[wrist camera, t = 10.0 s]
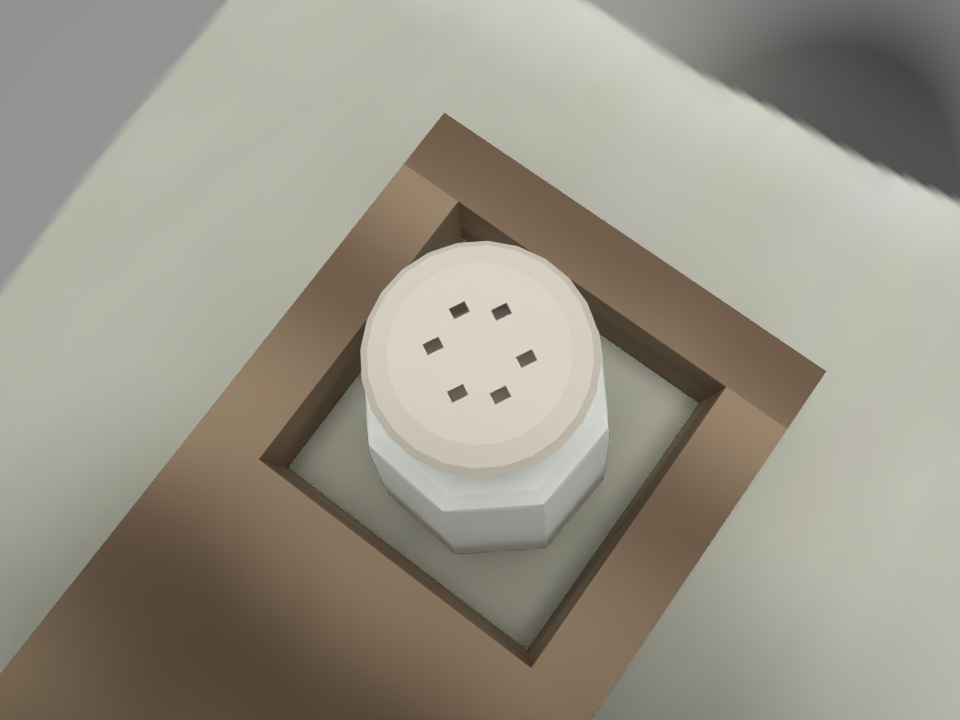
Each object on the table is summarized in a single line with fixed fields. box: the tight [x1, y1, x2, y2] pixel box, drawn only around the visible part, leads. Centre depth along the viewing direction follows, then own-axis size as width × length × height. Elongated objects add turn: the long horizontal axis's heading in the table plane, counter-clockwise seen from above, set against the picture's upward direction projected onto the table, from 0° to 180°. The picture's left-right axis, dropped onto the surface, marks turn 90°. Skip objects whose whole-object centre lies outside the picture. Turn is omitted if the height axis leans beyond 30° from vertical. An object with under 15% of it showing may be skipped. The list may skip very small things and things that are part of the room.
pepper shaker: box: [360, 241, 610, 554], centre depth 15 cm, size 5×5×11 cm
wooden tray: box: [0, 113, 826, 720], centre depth 19 cm, size 16×10×2 cm, turn 144°
